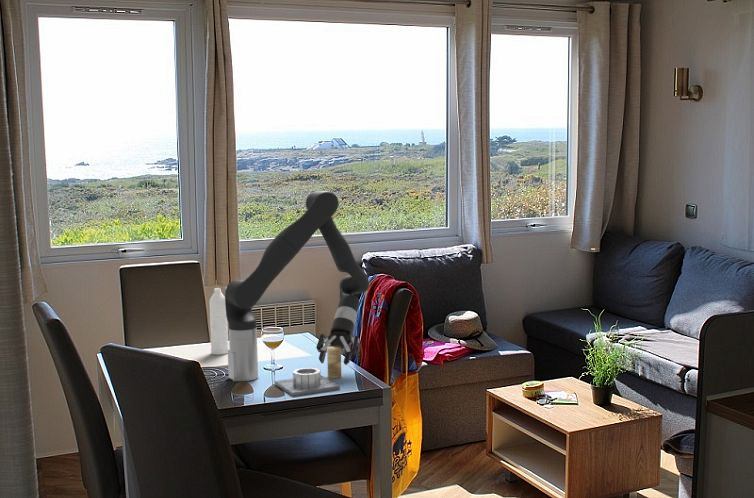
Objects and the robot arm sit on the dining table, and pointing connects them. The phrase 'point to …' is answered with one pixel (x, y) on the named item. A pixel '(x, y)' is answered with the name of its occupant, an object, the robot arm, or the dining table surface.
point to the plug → (334, 362)
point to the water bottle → (218, 323)
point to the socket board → (306, 382)
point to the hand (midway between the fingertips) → (333, 362)
